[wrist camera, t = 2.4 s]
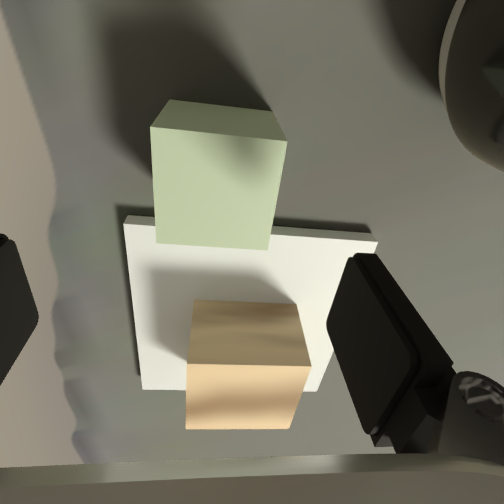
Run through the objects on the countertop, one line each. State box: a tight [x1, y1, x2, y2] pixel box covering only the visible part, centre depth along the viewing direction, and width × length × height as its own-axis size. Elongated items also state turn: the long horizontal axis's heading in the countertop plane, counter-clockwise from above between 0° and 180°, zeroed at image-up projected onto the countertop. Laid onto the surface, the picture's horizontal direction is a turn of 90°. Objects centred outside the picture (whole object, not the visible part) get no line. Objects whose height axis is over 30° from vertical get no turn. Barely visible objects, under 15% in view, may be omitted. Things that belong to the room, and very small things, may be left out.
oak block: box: [186, 300, 312, 429], centre depth 22 cm, size 7×7×5 cm
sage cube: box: [150, 99, 287, 250], centre depth 15 cm, size 5×5×5 cm
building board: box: [123, 215, 378, 391], centre depth 24 cm, size 16×15×1 cm
